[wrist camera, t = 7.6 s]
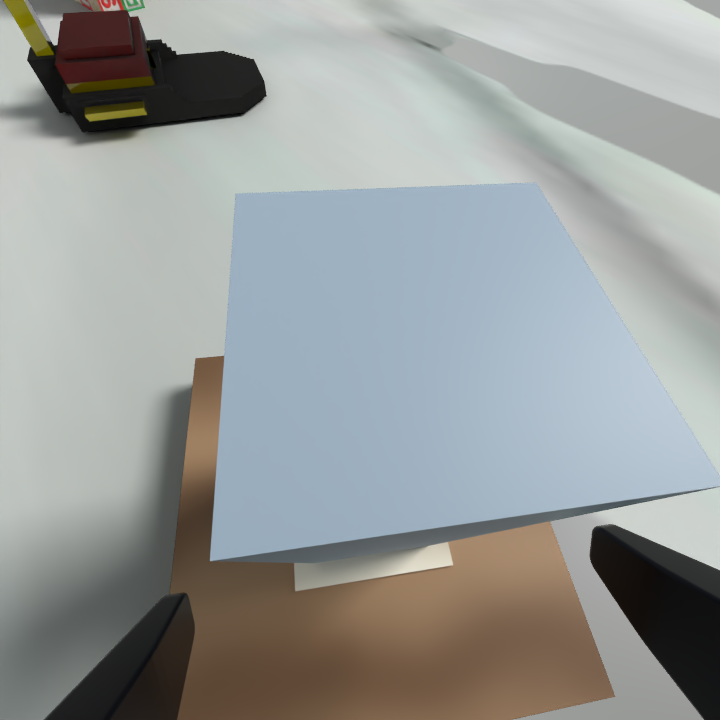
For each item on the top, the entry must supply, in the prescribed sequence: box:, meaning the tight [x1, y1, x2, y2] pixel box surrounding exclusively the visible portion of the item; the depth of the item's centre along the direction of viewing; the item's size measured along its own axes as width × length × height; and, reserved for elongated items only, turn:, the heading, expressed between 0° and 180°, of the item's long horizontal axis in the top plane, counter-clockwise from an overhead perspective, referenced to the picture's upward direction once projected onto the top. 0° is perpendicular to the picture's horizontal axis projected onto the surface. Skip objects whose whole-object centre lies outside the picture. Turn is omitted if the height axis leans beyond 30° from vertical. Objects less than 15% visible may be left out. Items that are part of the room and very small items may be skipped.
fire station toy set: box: [4, 0, 266, 132], centre depth 33 cm, size 14×20×11 cm
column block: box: [210, 183, 720, 563], centre depth 10 cm, size 5×5×13 cm
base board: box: [170, 356, 615, 720], centre depth 17 cm, size 16×16×3 cm
